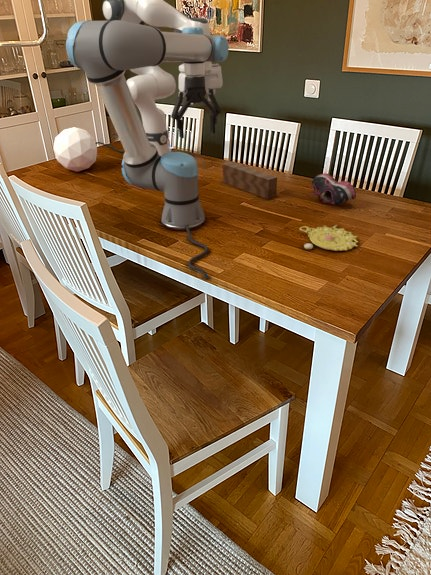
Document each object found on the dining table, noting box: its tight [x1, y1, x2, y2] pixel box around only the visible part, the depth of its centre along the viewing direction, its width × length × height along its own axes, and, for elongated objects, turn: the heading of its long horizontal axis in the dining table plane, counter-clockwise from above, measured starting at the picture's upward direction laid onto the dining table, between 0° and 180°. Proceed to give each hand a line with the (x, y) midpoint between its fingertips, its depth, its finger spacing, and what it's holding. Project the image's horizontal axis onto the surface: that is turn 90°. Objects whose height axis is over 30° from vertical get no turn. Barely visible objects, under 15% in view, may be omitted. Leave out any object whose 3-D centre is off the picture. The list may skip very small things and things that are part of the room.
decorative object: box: [299, 224, 359, 252], centre depth 141 cm, size 21×2×20 cm
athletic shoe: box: [309, 173, 357, 206], centre depth 167 cm, size 11×22×12 cm
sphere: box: [52, 126, 98, 173], centre depth 205 cm, size 19×20×20 cm
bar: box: [222, 161, 278, 200], centre depth 180 cm, size 28×5×8 cm, turn 39°
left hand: (202, 102), depth 183 cm, fingers open, 8 cm apart
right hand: (197, 135), depth 174 cm, fingers open, 13 cm apart
